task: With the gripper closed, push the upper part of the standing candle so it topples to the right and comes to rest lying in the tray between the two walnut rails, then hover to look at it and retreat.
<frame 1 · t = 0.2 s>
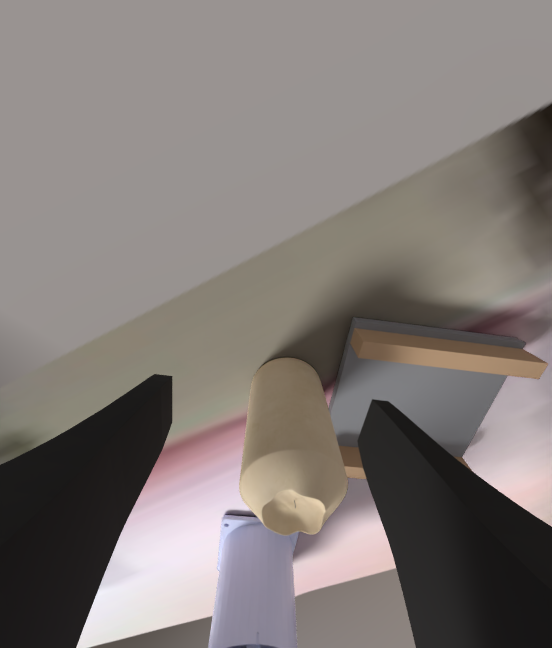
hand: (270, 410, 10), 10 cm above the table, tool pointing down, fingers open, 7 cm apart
tray: (407, 399, 22), on the table
candle: (285, 384, 22), on the table
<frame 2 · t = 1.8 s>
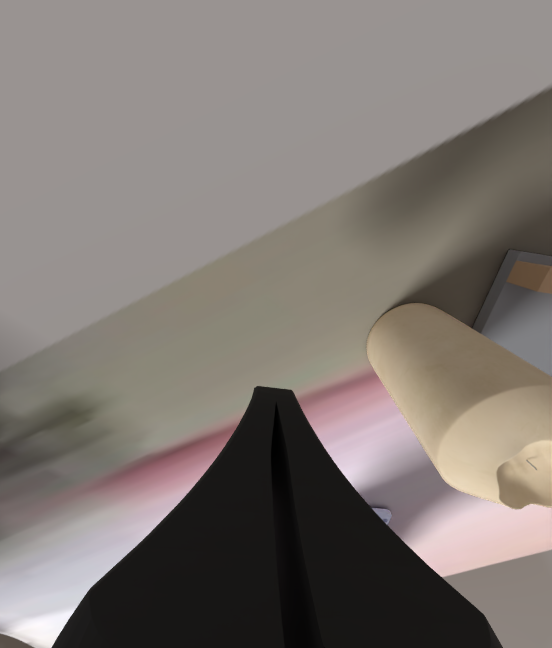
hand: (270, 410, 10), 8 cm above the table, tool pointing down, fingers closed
tray: (548, 360, 19), on the table
candle: (405, 340, 18), on the table
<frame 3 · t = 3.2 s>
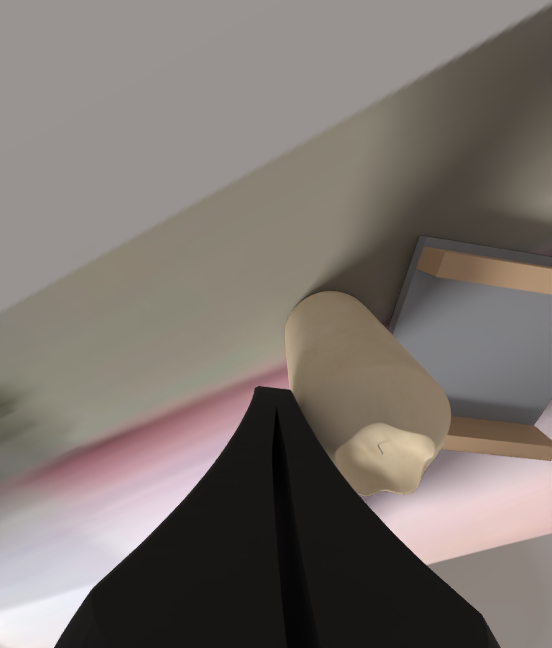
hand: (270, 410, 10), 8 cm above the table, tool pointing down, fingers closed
tray: (474, 351, 18), on the table
candle: (326, 329, 18), on the table, touching gripper
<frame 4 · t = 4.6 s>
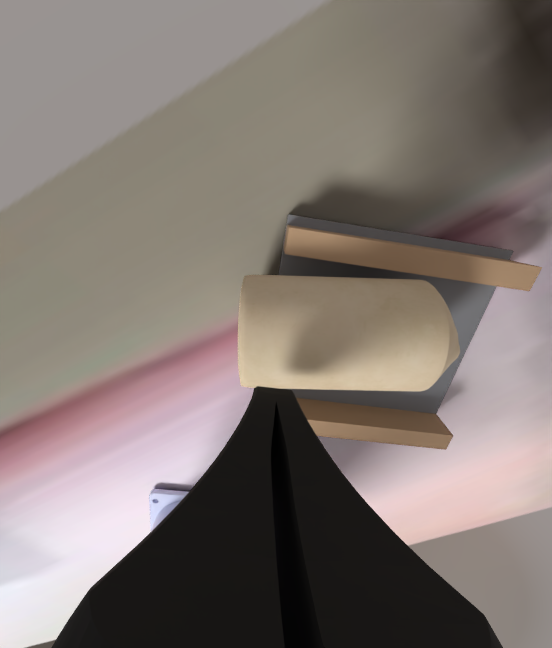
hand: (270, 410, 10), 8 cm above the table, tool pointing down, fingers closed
tray: (365, 336, 18), on the table
candle: (239, 330, 14), point 4 cm above the table, touching tray
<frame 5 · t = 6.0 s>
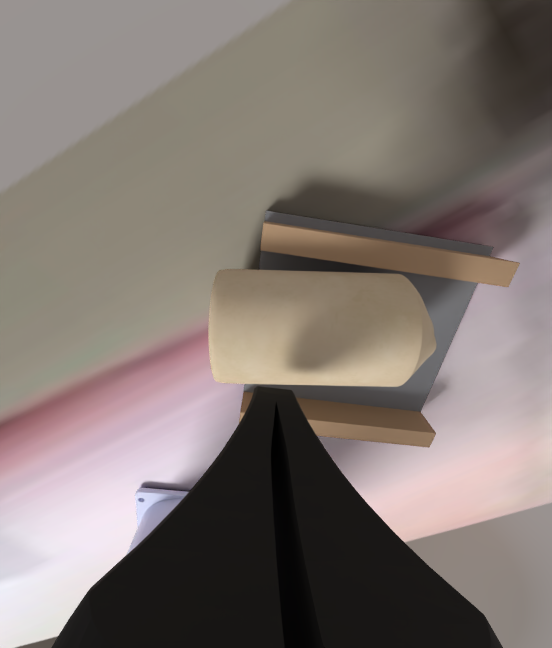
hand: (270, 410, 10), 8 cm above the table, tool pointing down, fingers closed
tray: (348, 334, 18), on the table
candle: (215, 325, 13), point 4 cm above the table, touching tray
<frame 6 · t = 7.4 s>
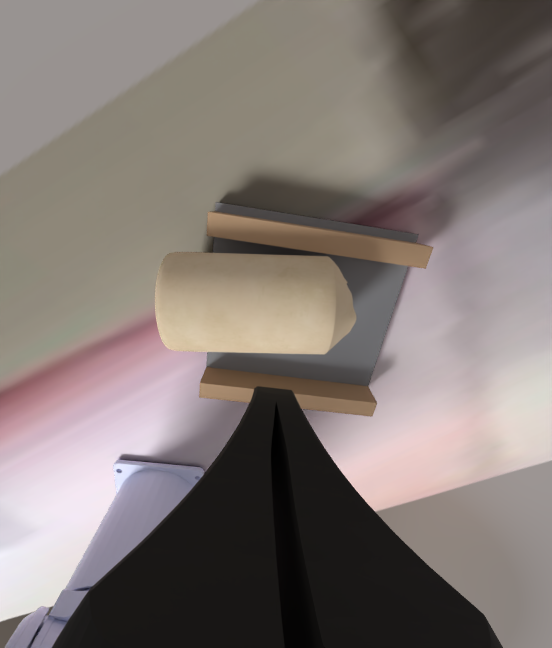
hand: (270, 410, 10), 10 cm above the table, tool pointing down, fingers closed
tray: (299, 314, 20), on the table
candle: (170, 301, 15), point 4 cm above the table, touching tray
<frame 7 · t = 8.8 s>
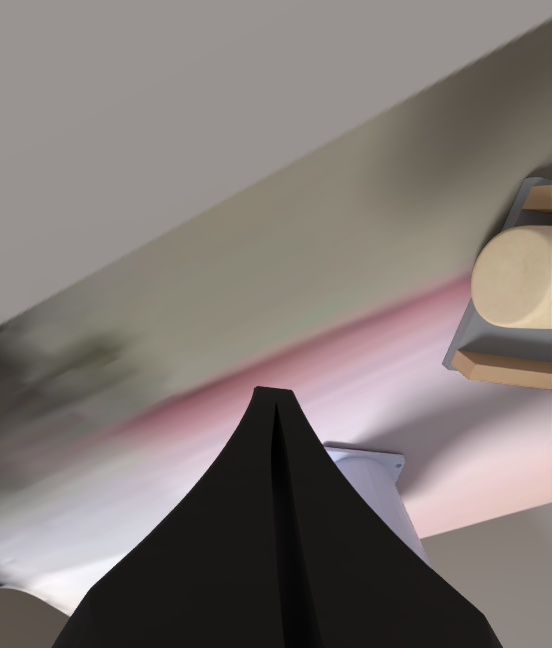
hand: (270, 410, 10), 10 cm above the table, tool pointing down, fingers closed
candle: (501, 277, 15), point 4 cm above the table, touching tray
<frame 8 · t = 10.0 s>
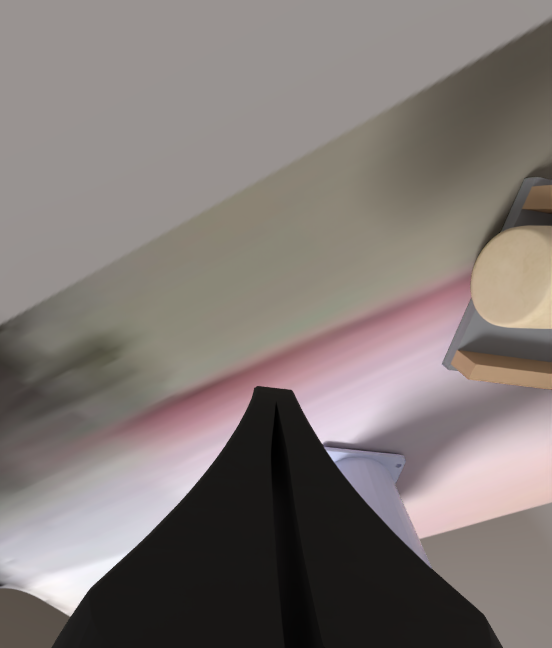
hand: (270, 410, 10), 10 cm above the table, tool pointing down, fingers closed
candle: (501, 277, 15), point 4 cm above the table, touching tray
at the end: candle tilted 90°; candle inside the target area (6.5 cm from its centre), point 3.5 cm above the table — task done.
